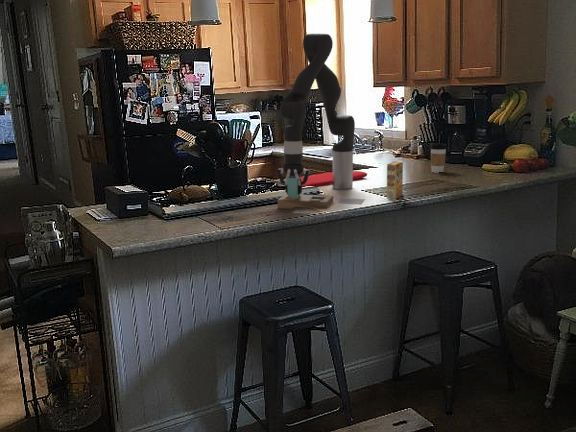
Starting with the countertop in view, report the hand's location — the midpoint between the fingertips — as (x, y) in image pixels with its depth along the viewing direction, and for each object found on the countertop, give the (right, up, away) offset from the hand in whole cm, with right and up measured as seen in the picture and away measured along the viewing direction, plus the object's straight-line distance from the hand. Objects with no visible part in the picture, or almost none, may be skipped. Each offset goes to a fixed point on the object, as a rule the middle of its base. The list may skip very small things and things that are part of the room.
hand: (293, 193), depth 258 cm
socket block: (+5, -5, 0) cm, 7 cm away
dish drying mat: (+16, +7, +53) cm, 56 cm away
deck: (+24, -4, +4) cm, 24 cm away
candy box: (+43, -2, +12) cm, 45 cm away
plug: (0, -3, +1) cm, 3 cm away
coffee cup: (+76, +14, +74) cm, 107 cm away
